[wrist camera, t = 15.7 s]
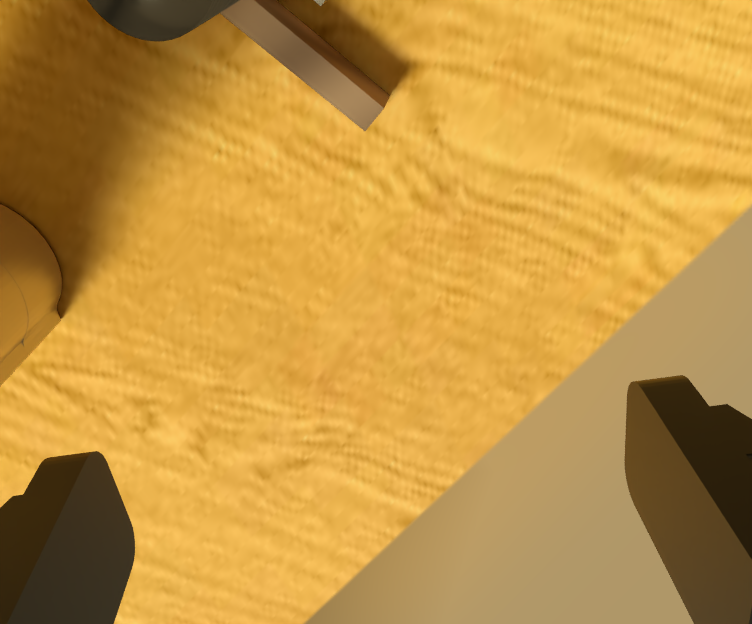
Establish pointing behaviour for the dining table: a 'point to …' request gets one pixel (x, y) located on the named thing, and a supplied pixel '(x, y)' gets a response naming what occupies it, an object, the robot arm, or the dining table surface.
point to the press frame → (309, 58)
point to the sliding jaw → (160, 16)
